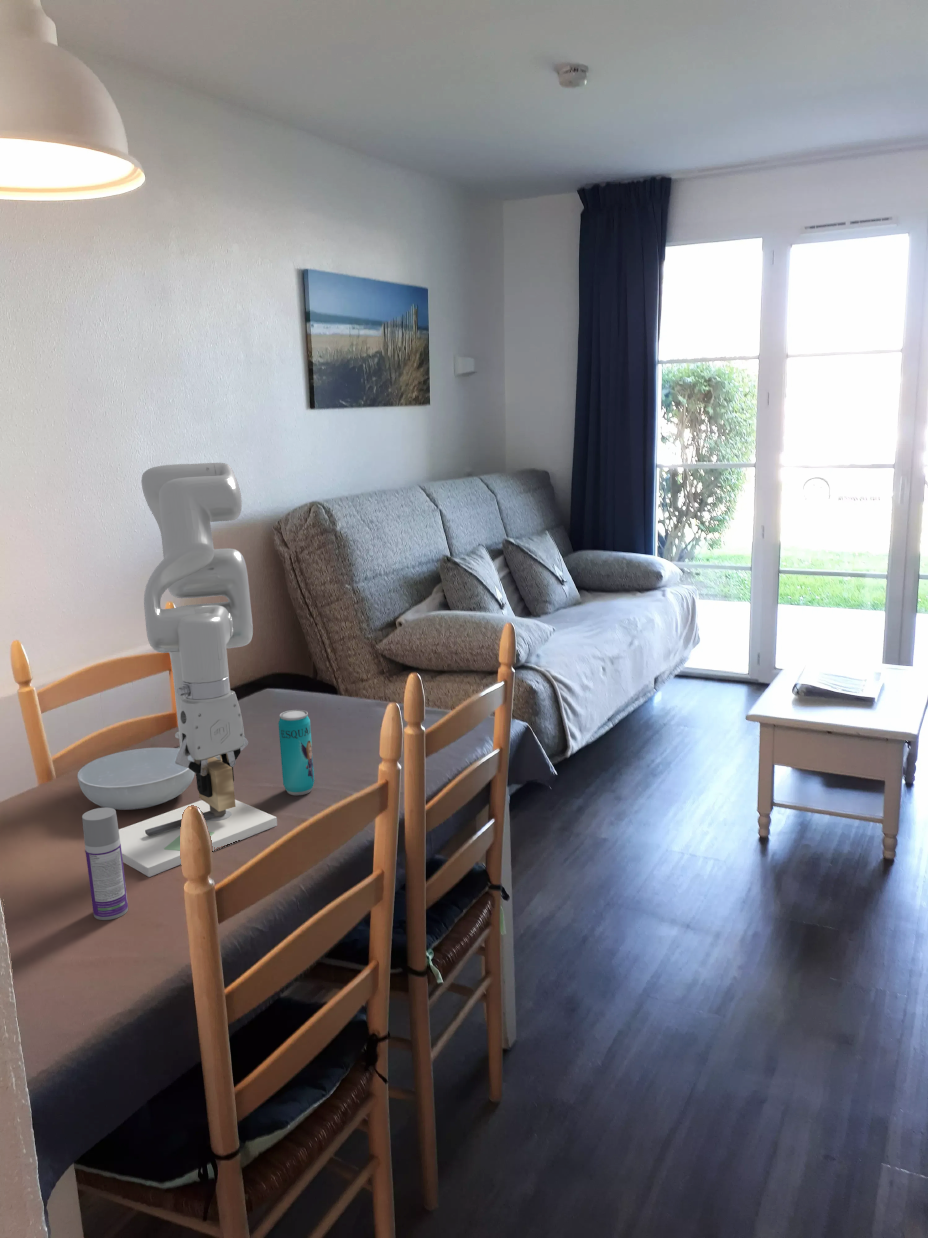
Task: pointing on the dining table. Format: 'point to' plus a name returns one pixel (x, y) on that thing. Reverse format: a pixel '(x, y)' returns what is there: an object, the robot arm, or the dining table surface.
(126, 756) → the serving bowl
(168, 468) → the robot arm
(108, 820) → the container
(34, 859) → the dining table surface
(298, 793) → the beverage can
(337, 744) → the dining table surface
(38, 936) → the dining table surface
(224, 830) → the dial board
